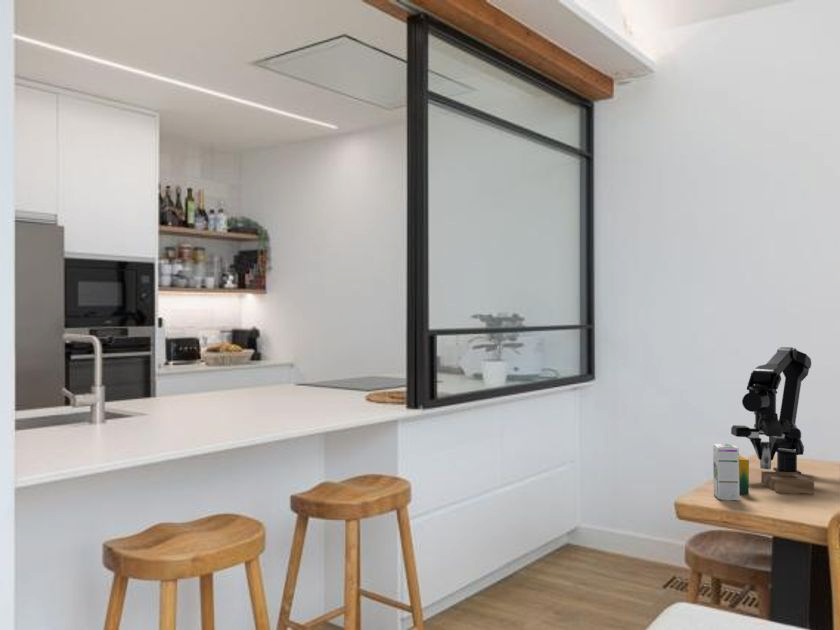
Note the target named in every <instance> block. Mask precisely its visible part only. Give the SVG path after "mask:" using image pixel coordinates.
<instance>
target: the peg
mask: <svg viewBox="0 0 840 630" xmlns="http://www.w3.org/2000/svg"><path fill="white" fill-rule="evenodd" d="M760 444H761V460H759V468H760V469H763V470H772V460H771V442H769V441H765V440H764V441H763V440H761V443H760Z"/></svg>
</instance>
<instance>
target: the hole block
mask: <svg viewBox="0 0 840 630" xmlns="http://www.w3.org/2000/svg"><path fill="white" fill-rule="evenodd" d="M760 477H761V478H760V483H761V484H762V485H764V486H765V487H767V488H768V489H770V490H772V491H773V492H774V491H775V493H776V494H797V493H807V494H806V495H814V494H815V481H814V480H811V479H810V478H808V477H806V476H804V475H802V474H798V473H797V472H778V471H762V470H761V476H760Z"/></svg>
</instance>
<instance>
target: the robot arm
mask: <svg viewBox="0 0 840 630" xmlns="http://www.w3.org/2000/svg"><path fill="white" fill-rule="evenodd" d="M811 367H812V359H811V358H810V356H809V355H807V353H804V352H803V351H800V350H798V349H797V348H796V347H795V348H794V347H792V346H791V347H788V346H784V347H783V346H781V347H778V348H777V350H776V352H775V353H774V355H772V357H771V358H770V359H769V360H768V362H767V363H766V364H762V365H758V366H757V367H755V368H754V369H753V370H752V372H750V373H751V374H750V376H749V380H748V382H747V386H746V390H747V391H748V392H747V393H745V394H744V396H743V397H742V401H741V403H742V406H743V408H744V409H745V410H746V411H748V412H752V413H753V414H754V421H755V423H754V425H753V427H754V428H750V427H749V426H746V425H739V424H738V425H736V424H735V425H734V424H733V425H732V426H731V429H730V432H731V433H730V434H731V435H733V436H735V437H737V438H747V439H748V440H749V441H750V442H751V444H752V446H753V448H754V449H753V450H754V451H755V453H756V456H757V458H758V460H759V461H760V460H761V444H760V443H761V441H762V438H761V437H760V436H762V435H764V436H766V437H768V442H771V461H773V460H774V458H775V455H776V467H772V470H774V471H775V472H797V473H798V474H800V475H802V471H800V470H798V456H800V455H801V456H803V455H804V452H805V445H804V444H803V441H802V439H801V438H802V431H801V430H800V429H799V428H798V427H797V425H796V422H797V415H798V414H797V413H798V407H799V400H800V392H801V387H802V386H801V385H802V381H804V380H805V379H806V377H807V376H808V375H809V371H810V369H811ZM781 374H783V376H784V378H785V379H784V384H783V393H782V398H781V406H780V411H779V412H780V413H779V415H778V413H777V394H778V391H777V390H778V389H779V386H780V385H781V384H780V383H781V382H782V376H781ZM778 416H779V417H778Z"/></svg>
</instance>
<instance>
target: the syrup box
mask: <svg viewBox="0 0 840 630" xmlns="http://www.w3.org/2000/svg"><path fill="white" fill-rule="evenodd" d="M712 446H713V447H712V451H713V452H712V453H713V454H712V456H713V457H712V459H713V461H712V462H713V464H712V465H713V496H715V497H716V499H717V500H719V499H721V500H722V501H731V500H737V502H739V501H740V494H739V456H740V452H739V451H740V450H739V447H738V446H736V445H735V444H733V443H712Z"/></svg>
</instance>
